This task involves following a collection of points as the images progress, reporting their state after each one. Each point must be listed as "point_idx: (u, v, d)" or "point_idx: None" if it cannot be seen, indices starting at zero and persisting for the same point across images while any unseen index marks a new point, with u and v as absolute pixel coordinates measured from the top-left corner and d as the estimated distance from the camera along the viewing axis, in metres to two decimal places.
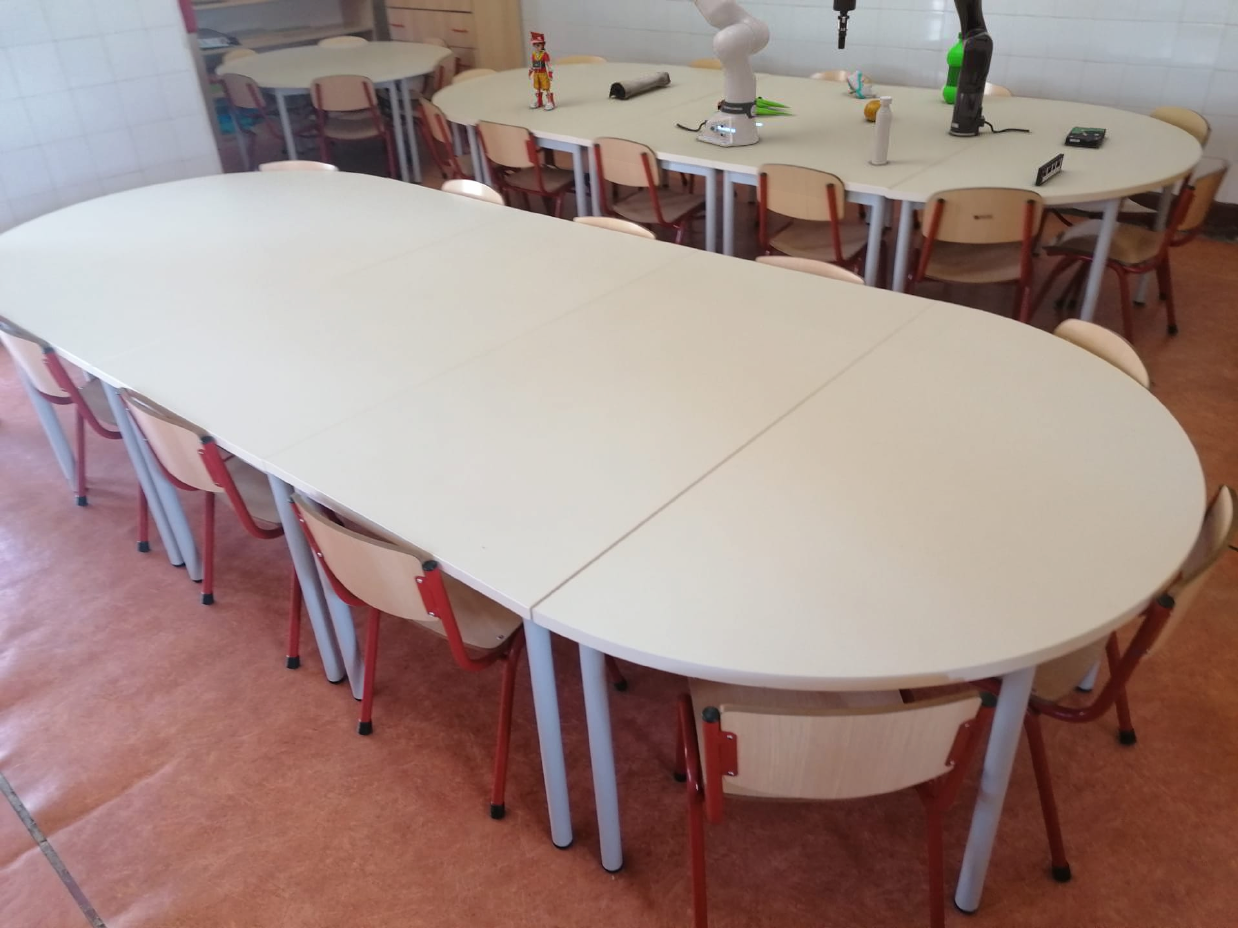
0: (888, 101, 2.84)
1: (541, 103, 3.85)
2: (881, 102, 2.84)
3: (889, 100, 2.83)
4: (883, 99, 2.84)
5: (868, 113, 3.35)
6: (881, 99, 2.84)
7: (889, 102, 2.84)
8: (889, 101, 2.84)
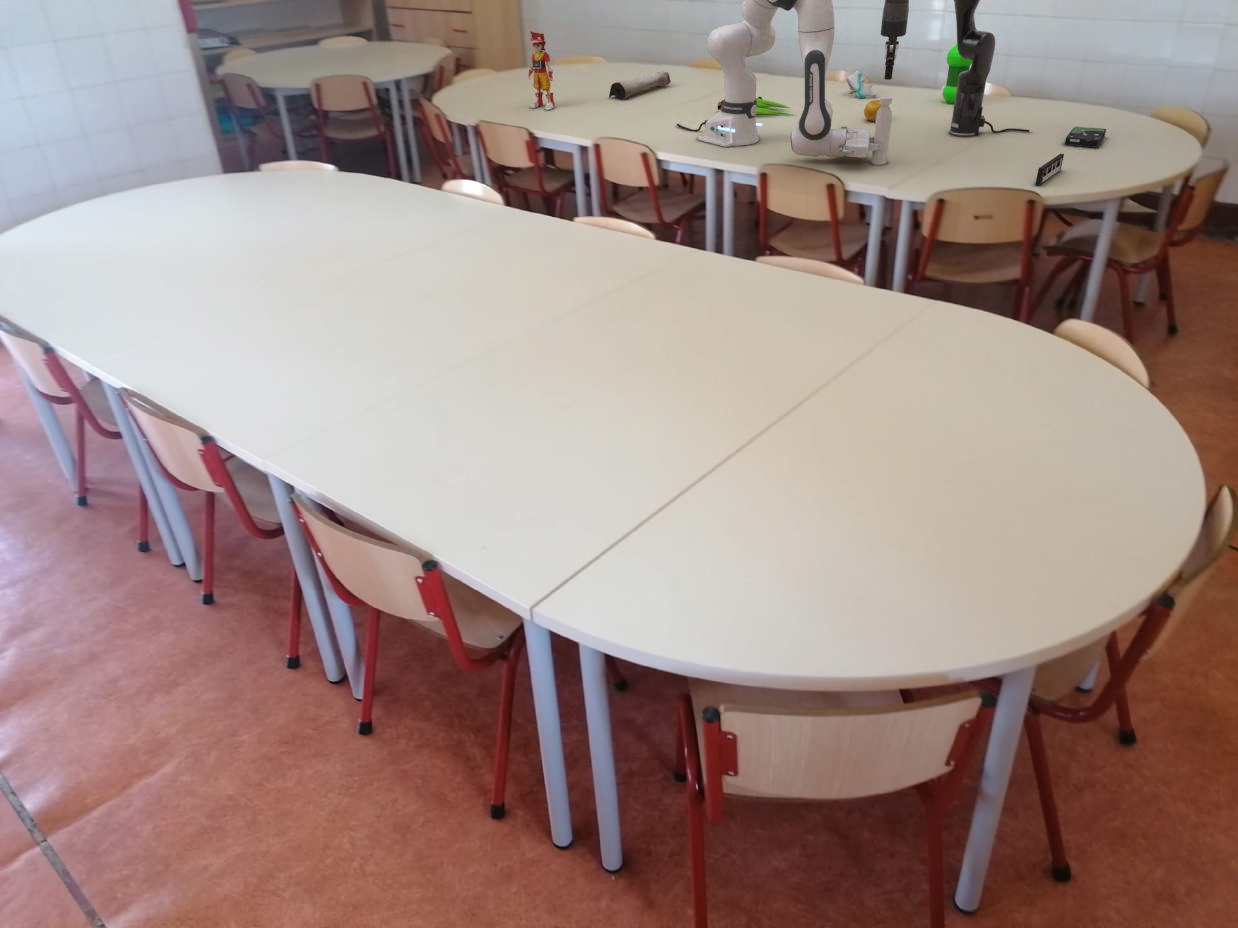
0: (888, 101, 2.84)
1: (541, 103, 3.85)
2: (881, 102, 2.84)
3: (889, 100, 2.83)
4: (883, 99, 2.84)
5: (868, 113, 3.35)
6: (881, 99, 2.84)
7: (889, 102, 2.84)
8: (889, 101, 2.84)
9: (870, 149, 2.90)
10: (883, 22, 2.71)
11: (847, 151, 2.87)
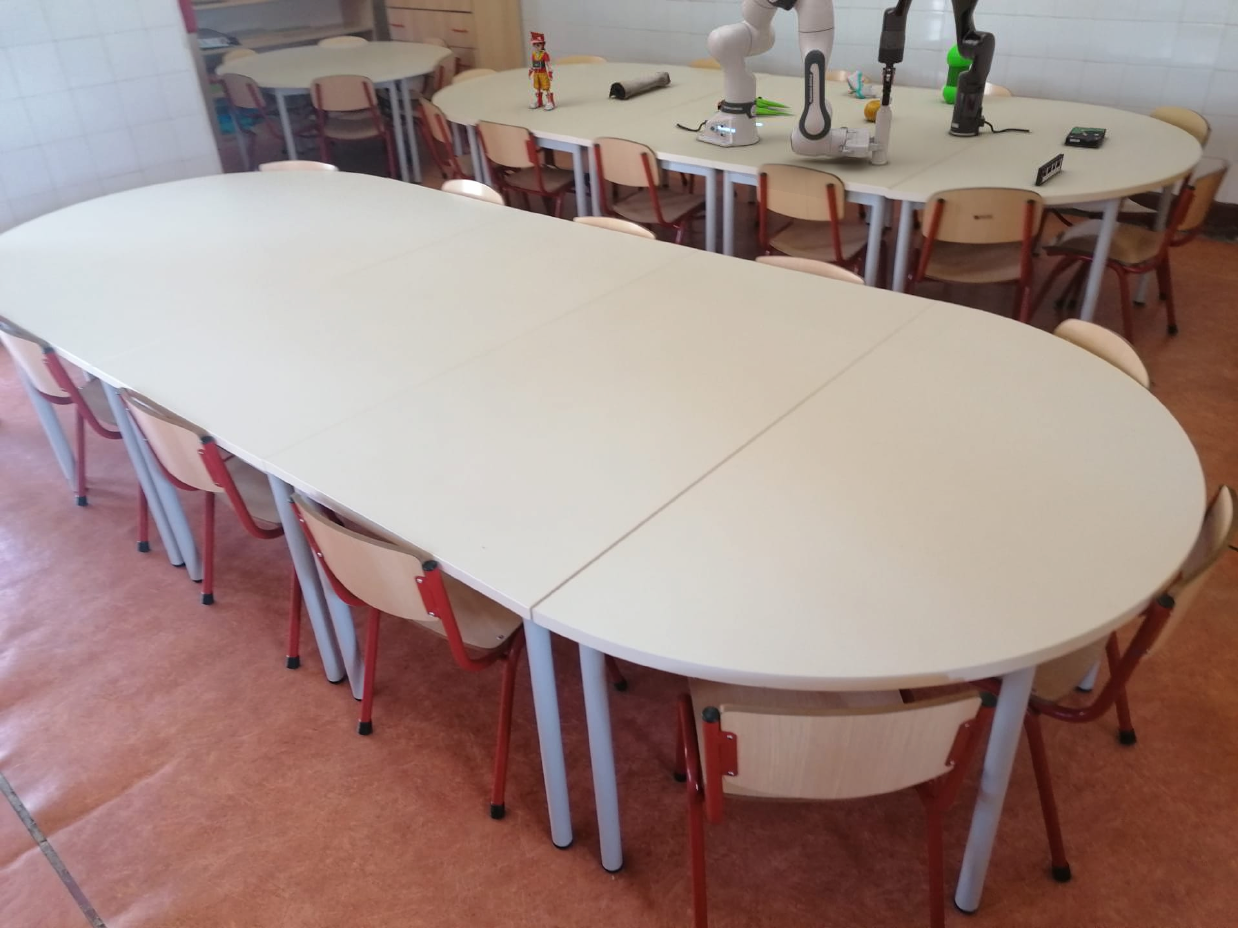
0: None
1: (541, 103, 3.85)
2: (881, 102, 2.84)
3: (889, 100, 2.83)
4: None
5: (868, 113, 3.35)
6: (881, 99, 2.84)
7: (889, 102, 2.84)
8: (889, 101, 2.84)
9: (870, 149, 2.90)
10: (880, 49, 2.76)
11: (847, 151, 2.87)
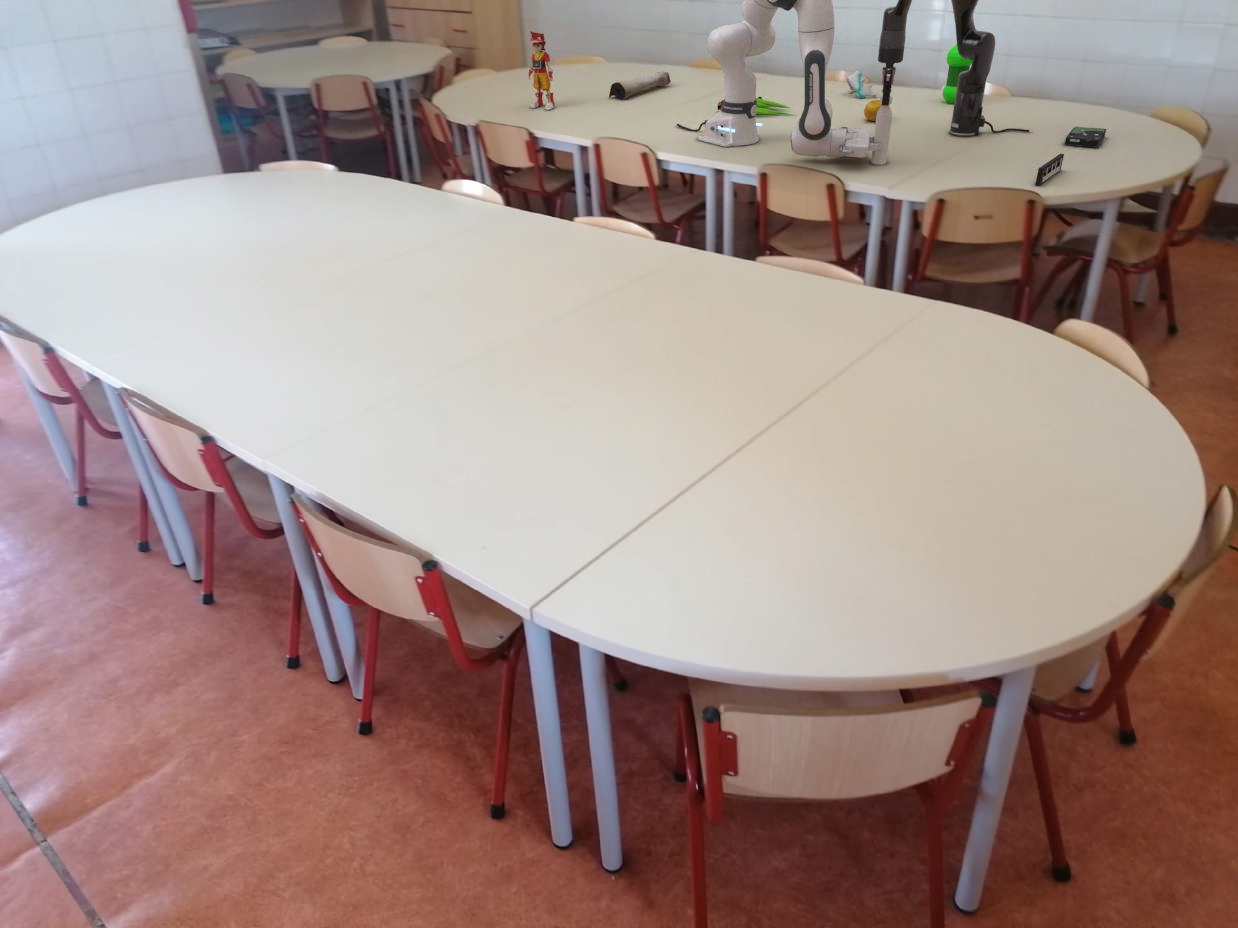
0: None
1: (541, 103, 3.85)
2: (889, 102, 2.84)
3: None
4: (891, 98, 2.83)
5: (868, 113, 3.35)
6: (889, 99, 2.83)
7: None
8: None
9: (870, 149, 2.90)
10: (880, 49, 2.76)
11: (847, 151, 2.87)
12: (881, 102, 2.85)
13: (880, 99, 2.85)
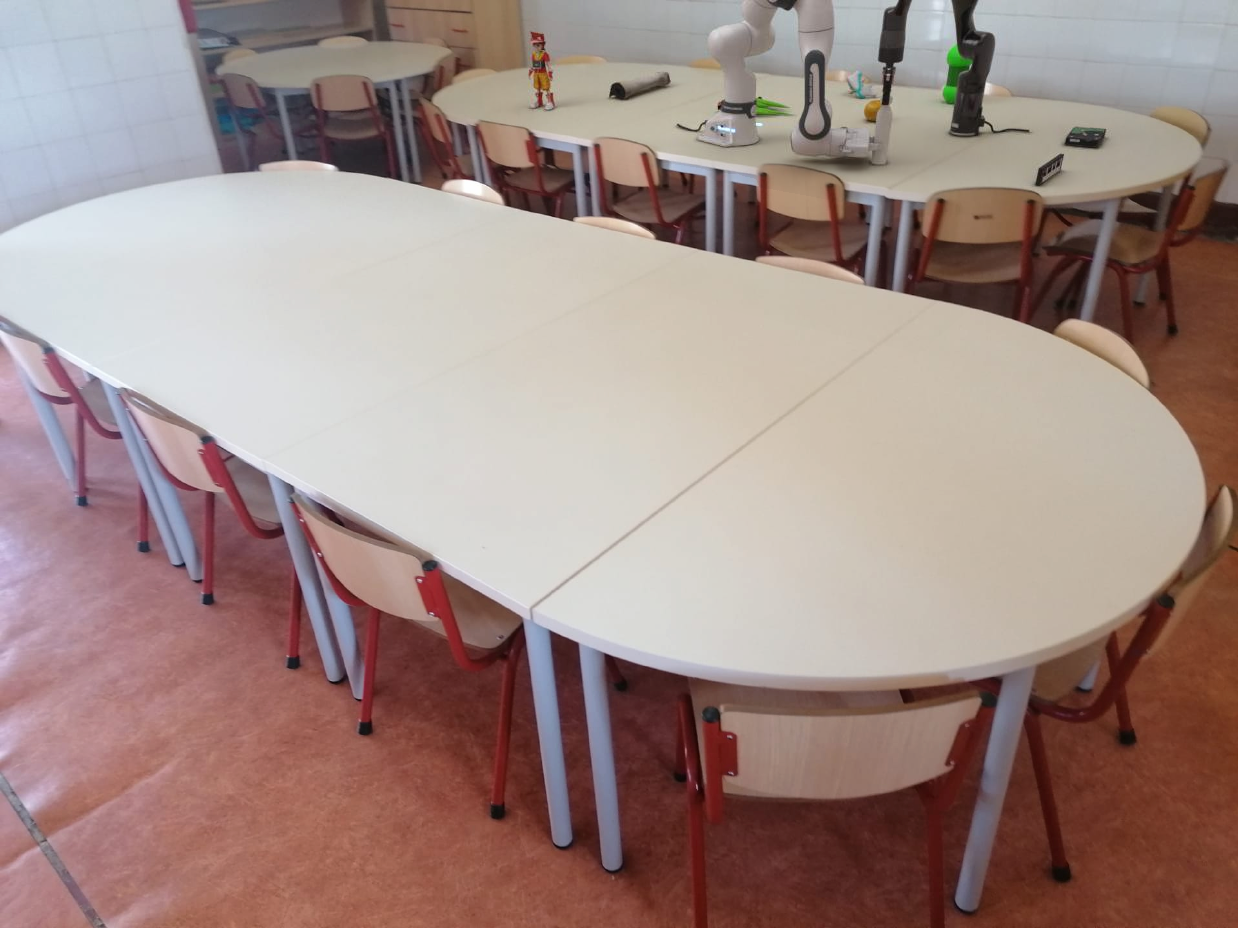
0: None
1: (541, 103, 3.85)
2: None
3: None
4: None
5: (868, 113, 3.35)
6: None
7: None
8: None
9: (870, 149, 2.90)
10: (880, 48, 2.75)
11: (847, 151, 2.87)
12: (889, 102, 2.84)
13: None
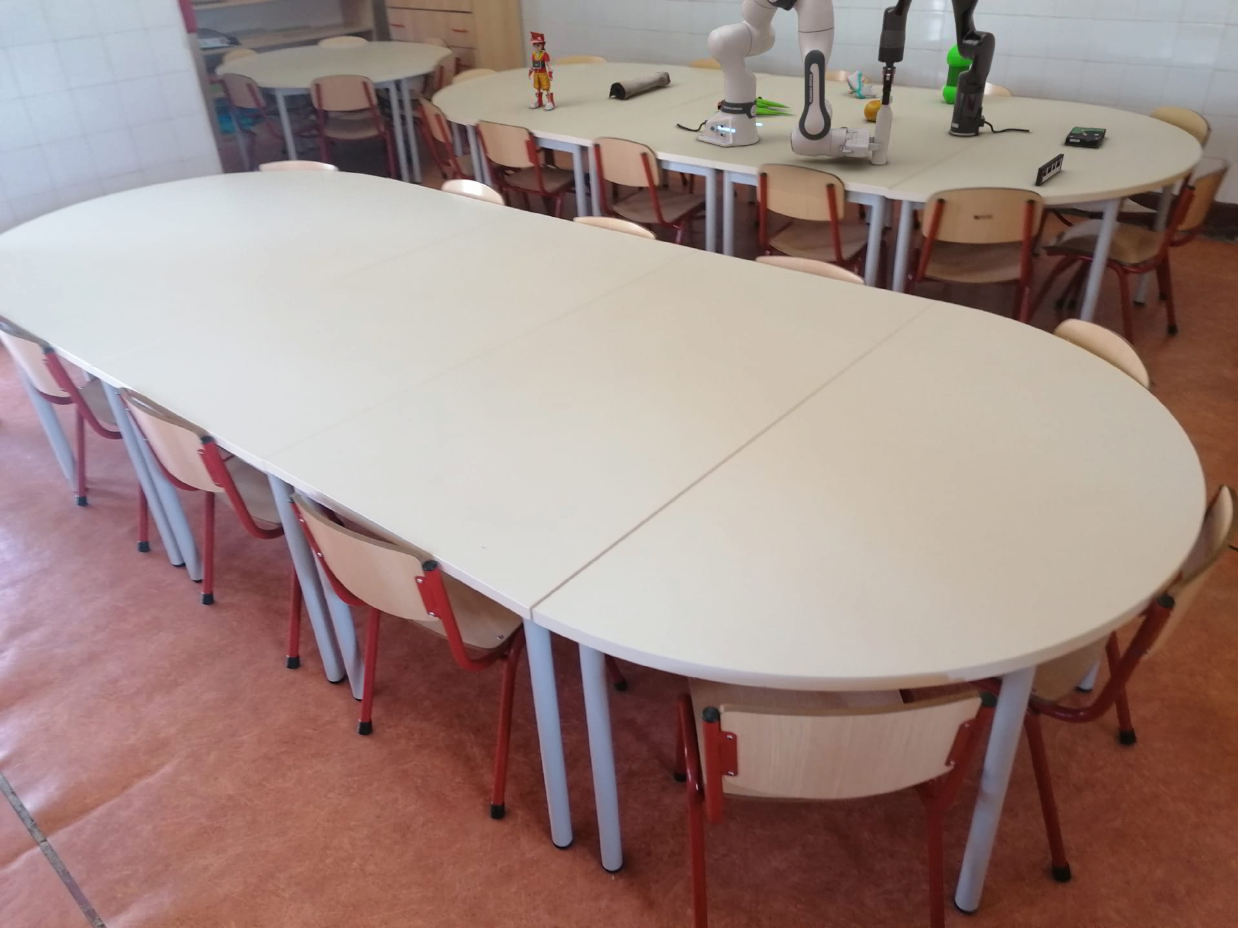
0: None
1: (541, 103, 3.85)
2: None
3: (881, 98, 2.84)
4: None
5: (868, 113, 3.35)
6: None
7: (881, 100, 2.85)
8: (881, 99, 2.85)
9: (870, 149, 2.90)
10: (880, 48, 2.75)
11: (847, 151, 2.87)
12: None
13: (892, 98, 2.84)
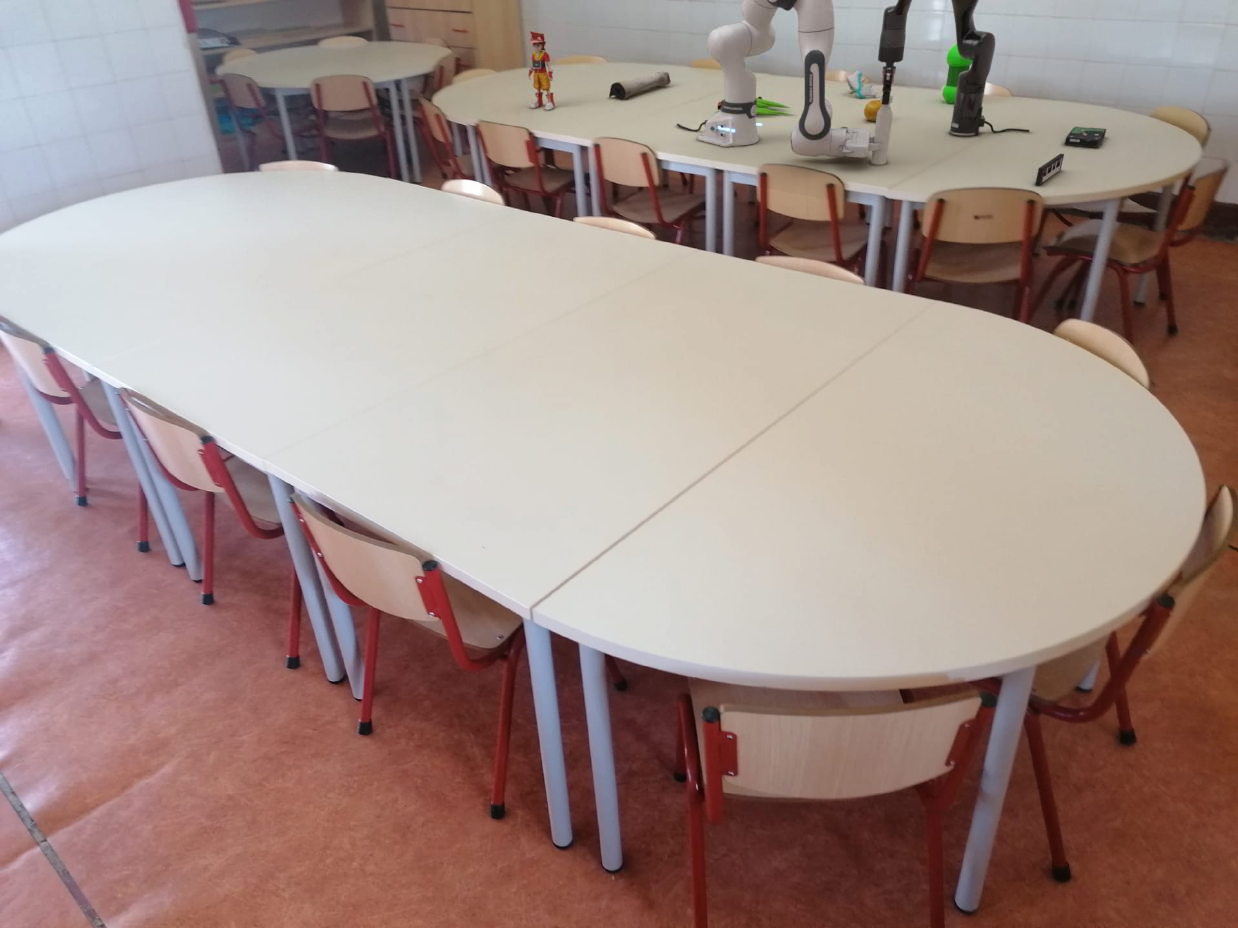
0: None
1: (541, 103, 3.85)
2: (880, 100, 2.85)
3: None
4: None
5: (868, 113, 3.35)
6: (881, 97, 2.84)
7: None
8: None
9: (870, 149, 2.90)
10: (880, 48, 2.75)
11: (847, 151, 2.87)
12: None
13: None
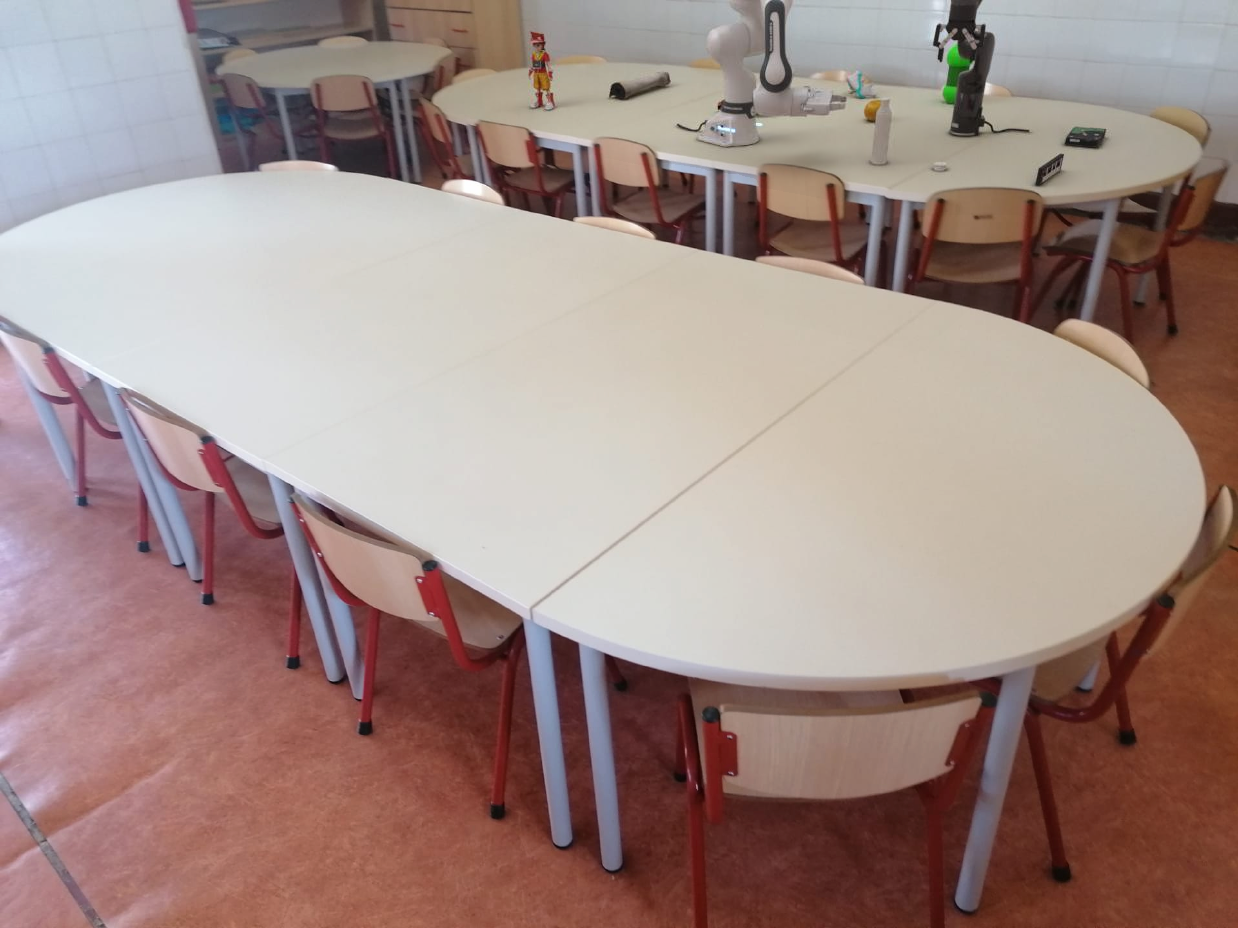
0: None
1: (541, 103, 3.85)
2: (941, 169, 2.85)
3: (945, 165, 2.86)
4: (943, 165, 2.85)
5: (868, 113, 3.35)
6: (941, 166, 2.85)
7: None
8: (945, 166, 2.86)
9: (831, 109, 2.84)
10: (969, 7, 2.57)
11: (808, 109, 2.83)
12: (934, 168, 2.87)
13: (934, 165, 2.87)
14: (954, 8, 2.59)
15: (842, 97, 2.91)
